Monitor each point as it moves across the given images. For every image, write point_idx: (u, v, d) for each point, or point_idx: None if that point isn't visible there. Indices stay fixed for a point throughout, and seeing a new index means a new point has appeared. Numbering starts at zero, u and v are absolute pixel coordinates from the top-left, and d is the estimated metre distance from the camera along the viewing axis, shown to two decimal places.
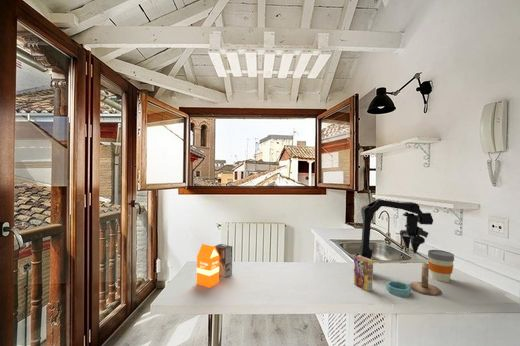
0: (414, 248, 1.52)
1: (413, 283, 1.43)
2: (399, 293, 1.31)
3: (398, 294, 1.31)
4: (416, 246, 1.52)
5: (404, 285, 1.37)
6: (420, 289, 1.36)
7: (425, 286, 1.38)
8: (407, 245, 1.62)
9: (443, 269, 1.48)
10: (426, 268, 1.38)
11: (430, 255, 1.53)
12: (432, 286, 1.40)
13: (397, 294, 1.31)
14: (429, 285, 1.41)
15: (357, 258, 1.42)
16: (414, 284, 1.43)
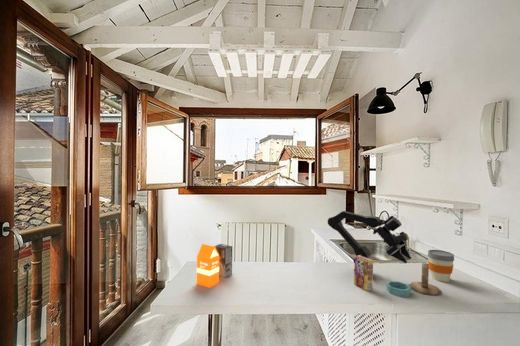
0: (400, 258, 1.42)
1: (413, 283, 1.43)
2: (399, 293, 1.31)
3: (398, 294, 1.31)
4: (400, 256, 1.41)
5: (404, 285, 1.37)
6: (420, 289, 1.36)
7: (425, 286, 1.38)
8: (407, 255, 1.48)
9: (443, 269, 1.48)
10: (426, 268, 1.38)
11: (430, 255, 1.53)
12: (432, 286, 1.40)
13: (397, 294, 1.31)
14: (429, 285, 1.41)
15: (357, 258, 1.42)
16: (414, 284, 1.43)
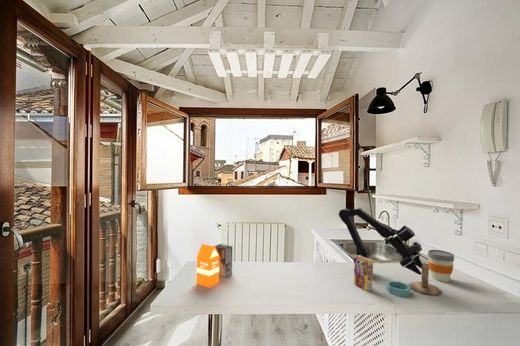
0: (414, 270, 1.37)
1: (413, 283, 1.43)
2: (399, 293, 1.31)
3: (398, 294, 1.31)
4: (414, 267, 1.37)
5: (404, 285, 1.37)
6: (420, 289, 1.36)
7: (425, 286, 1.38)
8: (421, 266, 1.44)
9: (443, 269, 1.48)
10: (426, 268, 1.38)
11: (430, 255, 1.53)
12: (432, 286, 1.40)
13: (397, 294, 1.31)
14: (429, 285, 1.41)
15: (357, 258, 1.42)
16: (414, 284, 1.43)
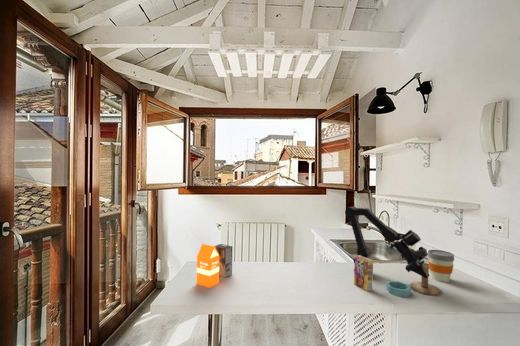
0: (421, 274, 1.38)
1: (413, 283, 1.43)
2: (399, 293, 1.31)
3: (398, 294, 1.31)
4: (420, 271, 1.38)
5: (404, 285, 1.37)
6: (420, 289, 1.36)
7: (425, 286, 1.38)
8: None
9: (443, 269, 1.48)
10: (426, 268, 1.38)
11: (430, 255, 1.53)
12: (432, 286, 1.40)
13: (397, 294, 1.31)
14: (429, 285, 1.41)
15: (357, 258, 1.42)
16: (414, 284, 1.43)
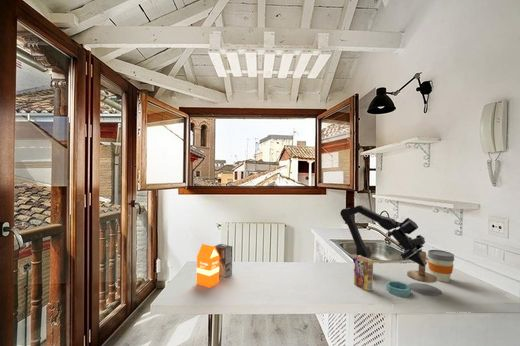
0: (417, 262, 1.37)
1: (410, 271, 1.43)
2: (399, 293, 1.31)
3: (398, 294, 1.31)
4: (417, 259, 1.37)
5: (404, 285, 1.37)
6: (416, 277, 1.36)
7: (422, 274, 1.37)
8: None
9: (443, 269, 1.48)
10: (423, 256, 1.36)
11: (430, 255, 1.53)
12: (430, 275, 1.39)
13: (397, 294, 1.31)
14: (427, 274, 1.40)
15: (357, 258, 1.42)
16: (411, 272, 1.42)
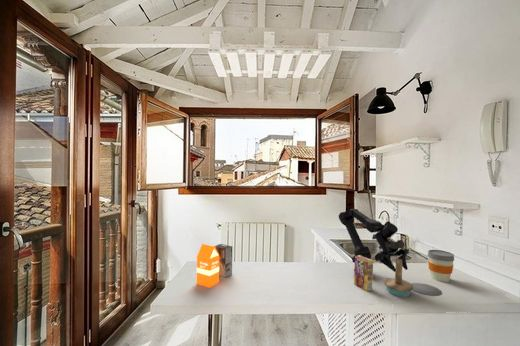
0: (389, 266, 1.35)
1: (391, 279, 1.41)
2: (399, 293, 1.31)
3: (398, 294, 1.31)
4: (389, 263, 1.35)
5: None
6: (389, 283, 1.35)
7: (397, 282, 1.35)
8: (404, 266, 1.37)
9: (443, 269, 1.48)
10: (398, 264, 1.34)
11: (430, 255, 1.53)
12: (408, 284, 1.34)
13: (397, 294, 1.31)
14: (407, 283, 1.36)
15: (357, 258, 1.42)
16: (391, 279, 1.40)
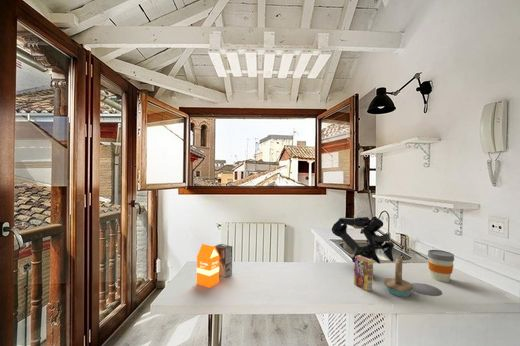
0: (374, 259, 1.43)
1: (391, 279, 1.41)
2: (399, 293, 1.31)
3: (398, 294, 1.31)
4: (373, 256, 1.43)
5: None
6: (389, 283, 1.35)
7: (397, 282, 1.35)
8: (390, 258, 1.46)
9: (443, 269, 1.48)
10: (398, 264, 1.34)
11: (430, 255, 1.53)
12: (408, 284, 1.34)
13: (397, 294, 1.31)
14: (407, 283, 1.36)
15: (357, 258, 1.42)
16: (391, 279, 1.40)
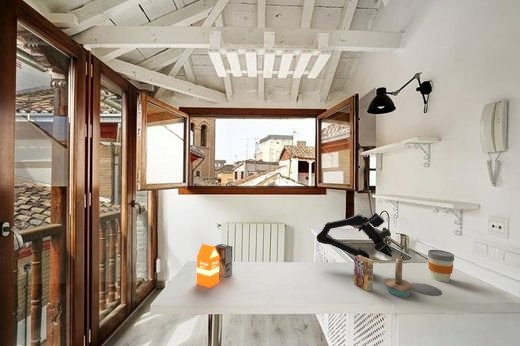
0: (386, 253, 1.50)
1: (391, 279, 1.41)
2: (399, 293, 1.31)
3: (398, 294, 1.31)
4: (386, 250, 1.49)
5: None
6: (389, 283, 1.35)
7: (397, 282, 1.35)
8: (388, 249, 1.58)
9: (443, 269, 1.48)
10: (398, 264, 1.34)
11: (430, 255, 1.53)
12: (408, 284, 1.34)
13: (397, 294, 1.31)
14: (407, 283, 1.36)
15: (357, 258, 1.42)
16: (391, 279, 1.40)
